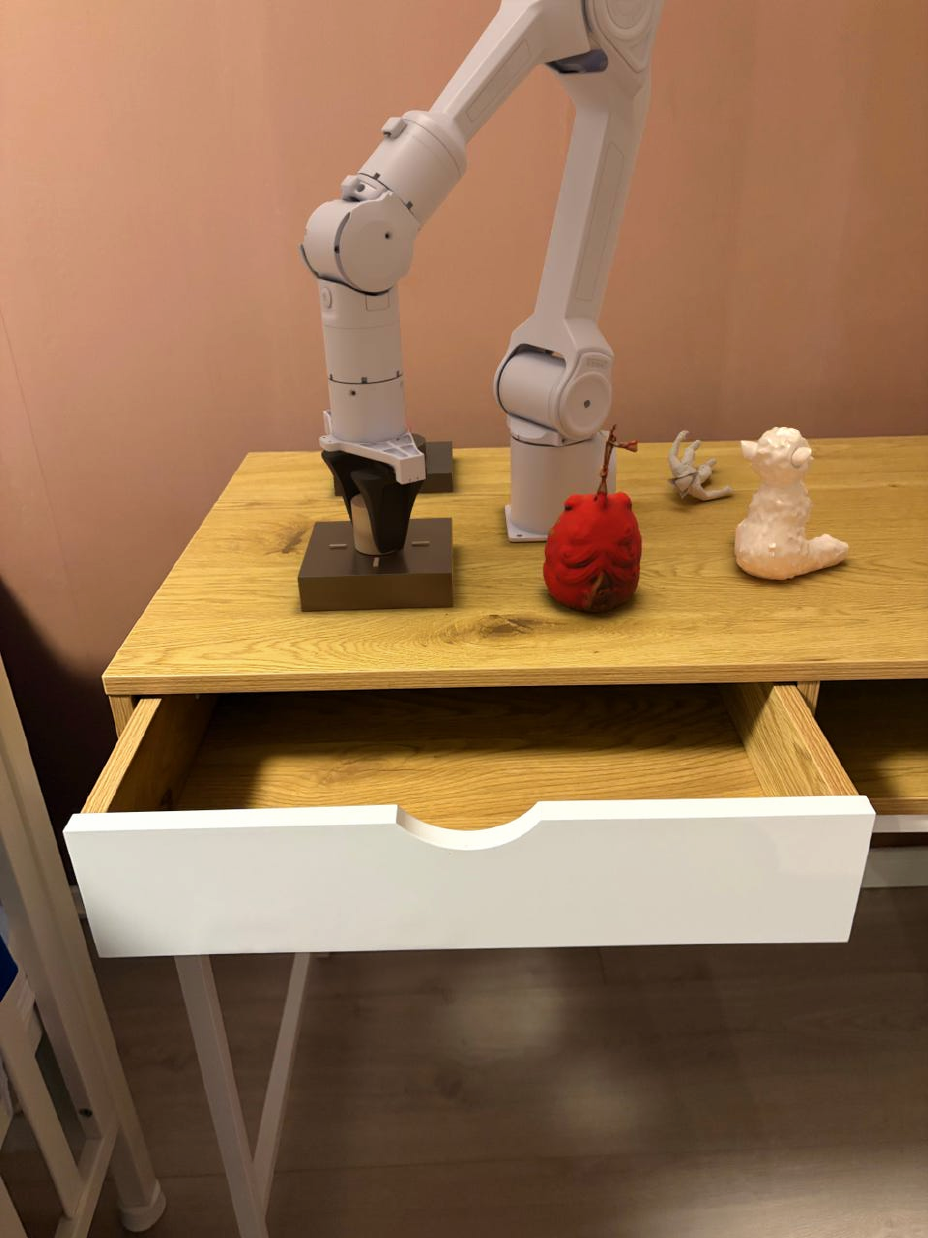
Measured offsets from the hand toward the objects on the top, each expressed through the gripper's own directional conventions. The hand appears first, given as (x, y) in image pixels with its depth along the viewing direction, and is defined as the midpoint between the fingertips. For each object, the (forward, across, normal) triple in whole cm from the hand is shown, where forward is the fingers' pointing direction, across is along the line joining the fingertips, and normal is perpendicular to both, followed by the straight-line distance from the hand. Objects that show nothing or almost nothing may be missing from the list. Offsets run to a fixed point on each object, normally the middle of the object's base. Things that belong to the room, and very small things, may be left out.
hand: (378, 539), depth 77 cm
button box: (+3, -21, +12) cm, 24 cm away
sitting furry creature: (+4, +16, +29) cm, 33 cm away
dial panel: (+3, 0, 0) cm, 3 cm away
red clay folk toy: (+4, +13, +12) cm, 18 cm away
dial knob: (0, 0, 0) cm, 0 cm away
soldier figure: (+4, -1, +35) cm, 35 cm away
